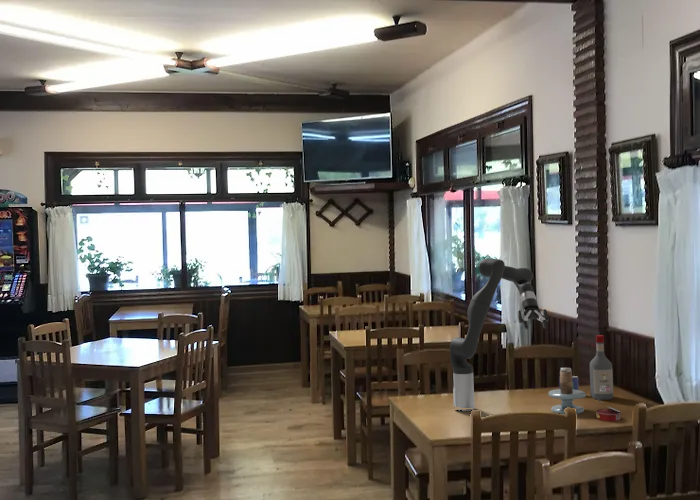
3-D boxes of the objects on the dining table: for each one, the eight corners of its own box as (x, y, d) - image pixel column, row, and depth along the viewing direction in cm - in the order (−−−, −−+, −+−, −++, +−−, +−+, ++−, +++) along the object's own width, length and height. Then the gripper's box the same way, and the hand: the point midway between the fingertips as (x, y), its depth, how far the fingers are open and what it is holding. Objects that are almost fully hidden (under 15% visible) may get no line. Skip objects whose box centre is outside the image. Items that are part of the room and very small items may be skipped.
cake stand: (554, 415, 308) (554, 397, 307) (545, 406, 324) (544, 389, 323) (591, 414, 307) (590, 396, 307) (579, 405, 323) (578, 388, 323)
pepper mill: (562, 394, 313) (561, 369, 313) (559, 391, 318) (558, 367, 318) (574, 393, 313) (573, 369, 313) (570, 391, 318) (569, 367, 318)
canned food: (600, 426, 305) (601, 403, 309) (624, 426, 299) (624, 403, 303) (590, 419, 298) (591, 396, 302) (614, 419, 291) (615, 396, 295)
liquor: (614, 399, 332) (612, 336, 331) (595, 400, 332) (593, 337, 331) (608, 395, 341) (606, 333, 340) (589, 395, 341) (587, 334, 340)
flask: (578, 393, 346) (577, 372, 345) (579, 395, 343) (578, 373, 343) (559, 393, 348) (558, 372, 347) (559, 395, 345) (558, 373, 345)
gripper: (516, 298, 346) (522, 324, 335) (544, 296, 346) (552, 322, 335) (514, 307, 351) (520, 333, 340) (542, 306, 351) (549, 332, 340)
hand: (536, 328), depth 337 cm, fingers open, 8 cm apart
